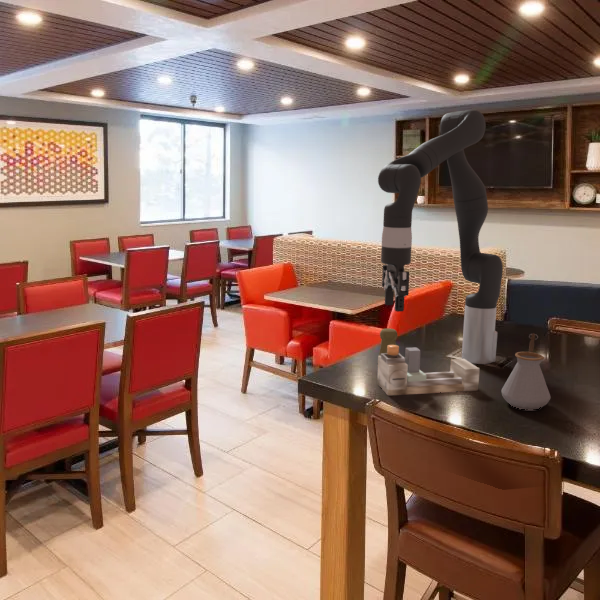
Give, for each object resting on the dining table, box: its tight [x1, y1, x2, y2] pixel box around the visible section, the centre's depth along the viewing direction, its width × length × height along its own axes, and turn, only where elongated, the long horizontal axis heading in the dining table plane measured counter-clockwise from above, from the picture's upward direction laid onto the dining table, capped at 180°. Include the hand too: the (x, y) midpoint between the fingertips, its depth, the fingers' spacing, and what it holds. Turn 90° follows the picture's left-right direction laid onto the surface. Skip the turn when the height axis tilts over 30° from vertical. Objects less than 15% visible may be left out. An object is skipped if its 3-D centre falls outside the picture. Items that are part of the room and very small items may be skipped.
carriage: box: [404, 346, 427, 382], centre depth 158 cm, size 5×8×8 cm, turn 10°
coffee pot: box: [501, 332, 552, 411], centre depth 152 cm, size 21×12×15 cm, turn 155°
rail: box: [376, 352, 480, 396], centre depth 159 cm, size 25×10×9 cm, turn 101°
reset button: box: [387, 344, 400, 355], centre depth 157 cm, size 3×3×2 cm
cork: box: [378, 327, 398, 356], centre depth 179 cm, size 6×6×11 cm
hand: (393, 307), depth 155 cm, fingers open, 7 cm apart
